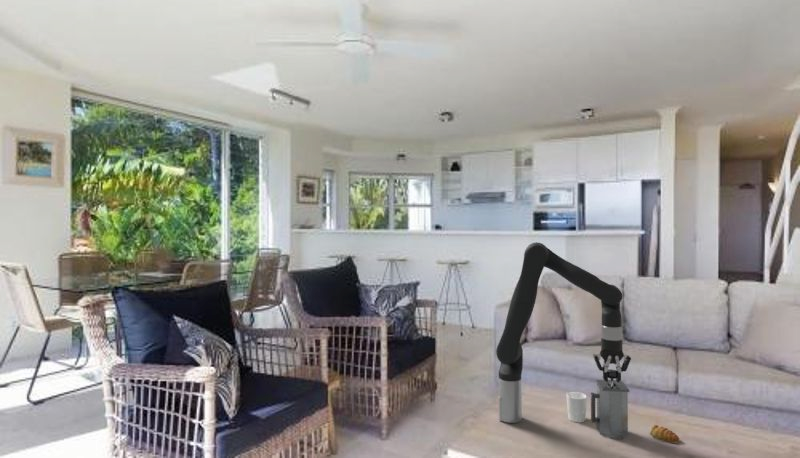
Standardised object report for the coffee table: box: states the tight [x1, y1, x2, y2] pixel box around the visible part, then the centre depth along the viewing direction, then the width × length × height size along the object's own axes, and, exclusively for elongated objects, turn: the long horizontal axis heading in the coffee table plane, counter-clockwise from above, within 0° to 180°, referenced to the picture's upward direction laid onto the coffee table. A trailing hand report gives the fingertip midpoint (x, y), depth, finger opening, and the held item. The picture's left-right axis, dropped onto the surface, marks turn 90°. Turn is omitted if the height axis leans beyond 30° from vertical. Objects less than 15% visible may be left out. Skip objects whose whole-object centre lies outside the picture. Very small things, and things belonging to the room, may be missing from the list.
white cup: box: [565, 391, 588, 423], centre depth 194 cm, size 8×8×10 cm
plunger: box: [607, 368, 617, 386], centre depth 181 cm, size 8×8×15 cm
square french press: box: [590, 379, 630, 440], centre depth 182 cm, size 13×10×19 cm
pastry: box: [649, 424, 680, 444], centre depth 176 cm, size 9×7×4 cm
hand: (612, 381), depth 181 cm, fingers closed on plunger, 3 cm apart
